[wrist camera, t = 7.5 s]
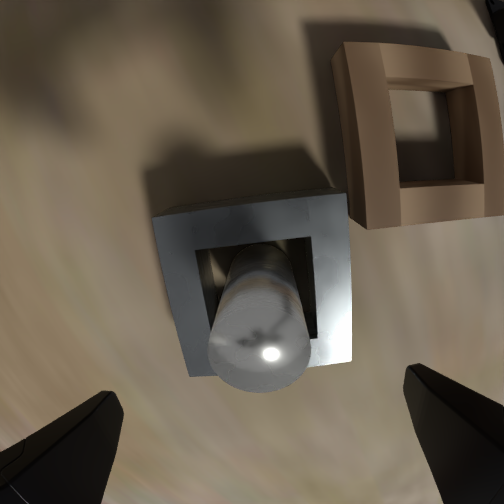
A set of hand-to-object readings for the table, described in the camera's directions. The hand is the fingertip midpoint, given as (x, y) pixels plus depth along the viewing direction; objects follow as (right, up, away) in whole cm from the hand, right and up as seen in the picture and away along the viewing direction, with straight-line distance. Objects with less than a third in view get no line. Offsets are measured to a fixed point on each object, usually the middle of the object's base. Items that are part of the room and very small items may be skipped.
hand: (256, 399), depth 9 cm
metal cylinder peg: (0, +3, +12) cm, 12 cm away
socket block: (+10, +12, +9) cm, 18 cm away
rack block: (0, +3, +12) cm, 12 cm away
